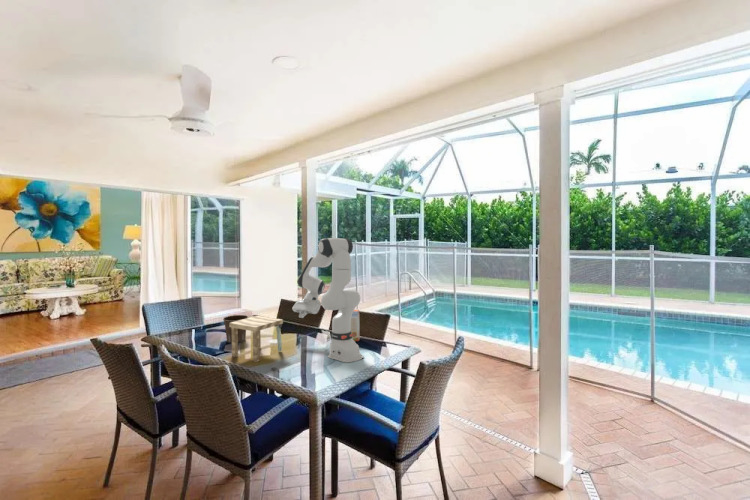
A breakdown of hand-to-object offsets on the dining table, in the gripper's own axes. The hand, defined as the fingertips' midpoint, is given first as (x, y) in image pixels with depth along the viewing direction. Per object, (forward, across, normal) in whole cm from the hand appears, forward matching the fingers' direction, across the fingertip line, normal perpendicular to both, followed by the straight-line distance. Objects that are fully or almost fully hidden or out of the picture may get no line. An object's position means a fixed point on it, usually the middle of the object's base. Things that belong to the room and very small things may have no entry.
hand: (300, 317), depth 251 cm
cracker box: (-4, +23, +30) cm, 38 cm away
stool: (+34, -10, -8) cm, 36 cm away
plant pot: (+23, -45, +1) cm, 51 cm away
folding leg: (+26, -1, -1) cm, 26 cm away
